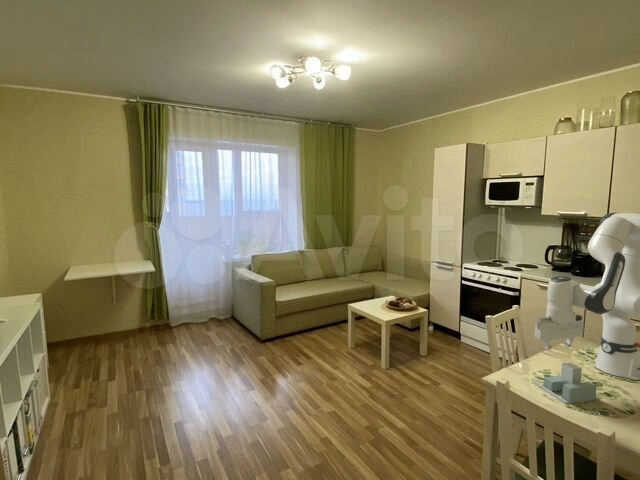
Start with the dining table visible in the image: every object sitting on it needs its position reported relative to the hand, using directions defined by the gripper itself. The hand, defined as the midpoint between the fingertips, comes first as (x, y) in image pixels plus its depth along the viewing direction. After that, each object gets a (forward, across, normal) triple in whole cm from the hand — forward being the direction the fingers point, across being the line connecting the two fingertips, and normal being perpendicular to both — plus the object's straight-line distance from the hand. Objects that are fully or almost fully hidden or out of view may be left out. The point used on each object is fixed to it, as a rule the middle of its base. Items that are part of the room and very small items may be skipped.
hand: (557, 348), depth 142 cm
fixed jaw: (+16, -1, -4) cm, 17 cm away
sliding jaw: (+16, -1, -2) cm, 16 cm away
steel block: (+16, -1, -7) cm, 18 cm away
